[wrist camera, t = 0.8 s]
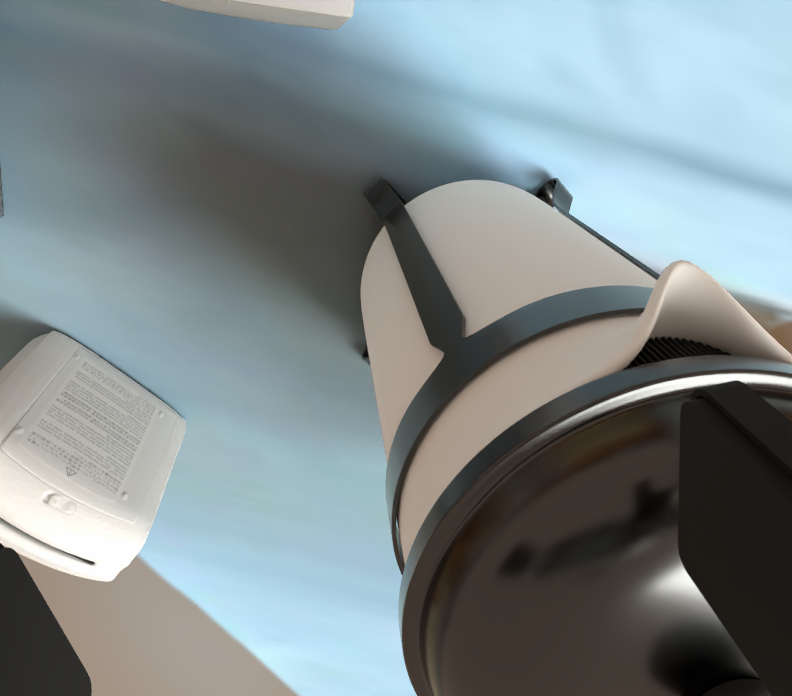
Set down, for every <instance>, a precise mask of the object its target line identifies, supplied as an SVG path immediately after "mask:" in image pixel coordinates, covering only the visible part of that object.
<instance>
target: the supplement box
mask: <svg viewBox="0 0 792 696" xmlns="http://www.w3.org/2000/svg"><path fill="white" fill-rule="evenodd" d="M160 1H164V2H167V3H171V4H174V5H178V6H181V7H184V8H188V9H193V10H198V11H204V12H210V13H216V14H221V15H227V16H233V17H239V18H245V19H251V20H258V21H265V22H272V23H279V24H286V25H294V26H303V27H311V28H320V29H328V30H337V29H338V28H340V27H341V26H342V25H343V24H344V23H345V22H346V21H347V20H348V19H349V18H351V17H352V15H353V10H354V4H355V0H160Z"/></svg>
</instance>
